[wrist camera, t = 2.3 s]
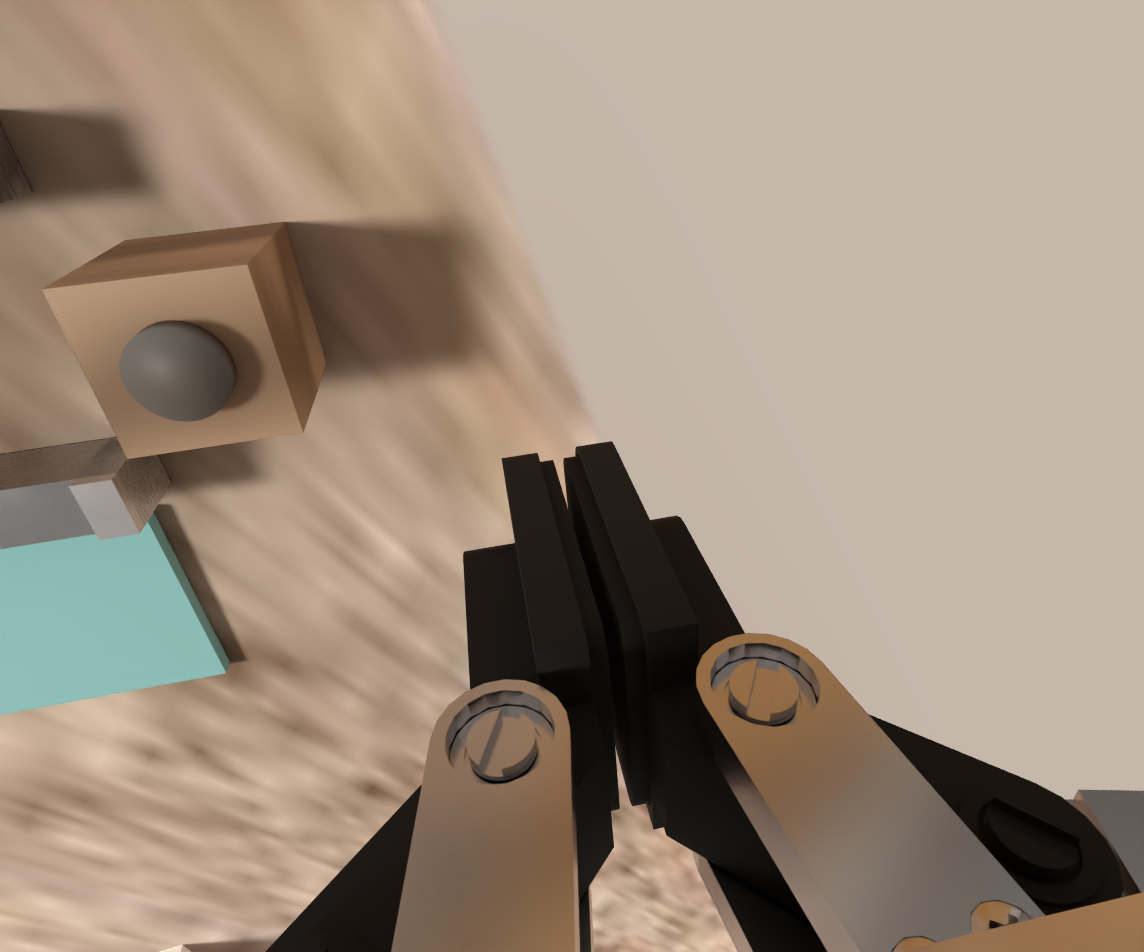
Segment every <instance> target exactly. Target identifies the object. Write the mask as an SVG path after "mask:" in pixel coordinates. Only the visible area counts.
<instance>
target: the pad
mask: <svg viewBox="0 0 1144 952" xmlns="http://www.w3.org/2000/svg"><path fill="white" fill-rule="evenodd" d="M229 663H230V661H229V659H228V658H227V656H226V654H225V652H224V650H223V648H222V646H221V644H220V642H219V640H218V638H217V636H216V634H215V632H214V630H213V628H212V626H211V624H210V622H209V620H208V618H207V616H206V614H205V612H204V610H203V608H202V606H201V604H200V602H199V600H198V598H197V596H196V594H195V593H194V591H193V589H192V587H191V585H190V583H189V581H188V579H187V577H186V575H185V573H184V571H183V569H182V567H181V565H180V563H179V561H178V559H177V557H176V555H175V553H174V551H173V549H172V547H171V545H170V543H169V541H168V539H167V537H166V535H165V533H164V531H163V529H162V528H161V526H160V524H159V522H158V520H157V518H156V516H155V514H154V512H153V513H152V515H151V517H150V518H149V520H148V522H147V523H146V525H145V526H144V528H143V530H142V531H141V533H140V534H135V535H128V536H122V537H116V538H110V539H104V540H99V539H98V537H97V535H96V534H93V535H86V536H80V537H74V538H68V539H61V540H55V541H49V542H43V543H37V544H30V545H24V546H18V547H12V548H5V549H0V715H2V714H7V713H13V712H18V711H24V710H29V709H34V708H40V707H45V706H51V705H56V704H62V703H67V702H72V701H78V700H83V699H89V698H94V697H99V696H105V695H110V694H116V693H121V692H127V691H132V690H137V689H143V688H148V687H154V686H159V685H164V684H170V683H175V682H181V681H186V680H192V679H197V678H202V677H208V676H213V675H219V674H224V673H226V672H227V669H228V666H229Z"/></svg>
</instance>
